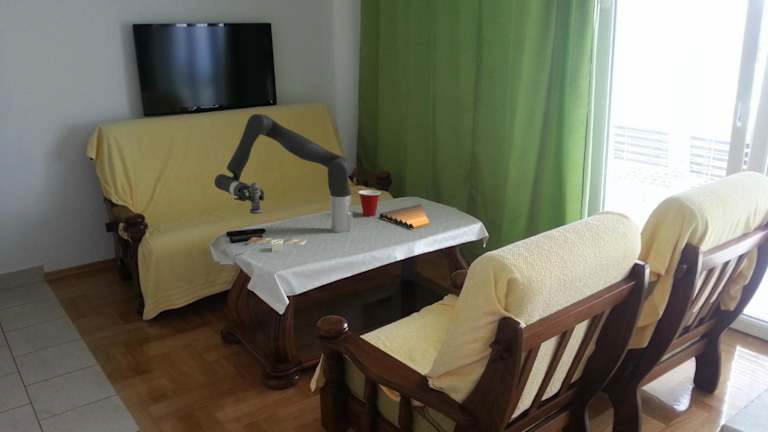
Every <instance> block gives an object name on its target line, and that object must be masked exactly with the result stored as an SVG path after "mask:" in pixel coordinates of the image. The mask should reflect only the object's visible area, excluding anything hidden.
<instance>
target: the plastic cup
mask: <svg viewBox="0 0 768 432" xmlns="http://www.w3.org/2000/svg"><path fill="white" fill-rule="evenodd" d="M358 194H359V198H360V204H361V209H362V213H363V214H362V215H363V216H364V217H366V216H372V217H375V216H376V212H377V208H378V203H379V202H378V201H379V198H380V195H381V191H379V190H372V189H371V190H370V189H367V190H359V191H358ZM374 215H375V216H374Z"/></svg>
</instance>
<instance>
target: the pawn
mask: <svg viewBox="0 0 768 432" xmlns="http://www.w3.org/2000/svg"><path fill="white" fill-rule="evenodd" d="M249 185H250V189H251V190H250V193H251V196H253V197H254V202H251V201H250V205H251V208H250V209H249V213H250V214H253V215H259V214H262V213H263V208H261V200H260V195H259V192H260V184H259V183H258V182H251V184H249Z"/></svg>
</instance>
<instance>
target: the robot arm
mask: <svg viewBox="0 0 768 432" xmlns="http://www.w3.org/2000/svg"><path fill="white" fill-rule="evenodd" d="M260 136H265V137H267V138H269V139H271V140H273V141H276V142H277V143H278V144H280V145H281V147H283V148H284V149H285V150H286V151H287V152H289V153H290V154H292V155H294V156H295V157H297V158H299V159H301V160H303V161H307V162H309V163H310V162H311V163H314V164H315V163H316V164H319V165H321V166H323V167H325V168H326V169H327V183H328V185H327V186H328V190H329V193H330V194H329V198H330V199H329V200H330V229H331V232H334V233H341V234H342V233H350V232H351V231H353V229H354V227H353V225H354V223H353V222H354V221H353V216H354V215H353V209H352V189H351V188H350V187H349V186H350V185H349V177H350V176H351V175H352V174H353V172H354V165H353V163H352V162H351V161H350V160H349V159H348V158H346V157H345V156H342V155H340V154H337V153H334V152H332V151H330V150H328V149H326V148H324V147H323V146H321V145H319V144H318V143H317V142H314V141H312V140H311V139H310V138H307V137H305V136H303V135H302V134H299V133H298V132H296V131H294V130H292V129H289V128H287V127H285V126H283V125H281V124H280V123H278V122H277V121H276V120H274V119H273V118H271V117H270V116H268V115H267V114H262V113H254V114H252V115H251V116H249V117H248V120H247V122H246V125H245V127H244V130H243V133H242V135H241V139H240V141H239V143H238V144H237V147H236V149H235V151H234V152H233V155H232V156H231V158H230V160H229V162H228V163H227V166H226V170H227V171H228V172H229V173H231V174H232V176H230V175H228V174H227V175H226V174H224V173H220V174H218V175H216V177H215V178H214V186H215V187H216V188H217V189H218V190H220V191H223V192H226V193H228V194H230V195H232V197H233V200H235V201H240V202H250V203H251V202H254V197H253V196H251V193H250V190H251V189H250V185H251V184H248V183H246V182H244V181H242V180H240V179H241V176H242V172H243V171H244V169H245V168H246V166H247V164H248V162H249V159H250V156H251V152H252V149H253V146H254V144H255V143H256V141H257V139H258V138H259V137H260ZM259 190H260V192H259V195H260V202H264V200H265V192H264V189H263V188H261V189H260V188H259Z"/></svg>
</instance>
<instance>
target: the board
mask: <svg viewBox="0 0 768 432" xmlns="http://www.w3.org/2000/svg"><path fill="white" fill-rule="evenodd" d="M282 239H283V245H284V244H285V245H302V246H303V245H305V244H306V243H307V242H308V240H307V239H293V238H271V237H268V238H267V237H256V236H252V237H251V238H249V239H248V240H247V241H246V242H245V245H246V246H249V244H251V243H261V244H272V240H282Z"/></svg>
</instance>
